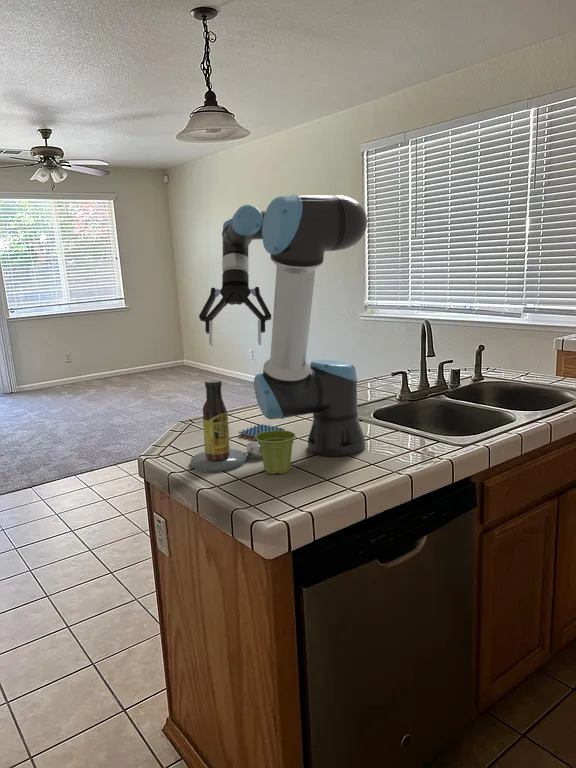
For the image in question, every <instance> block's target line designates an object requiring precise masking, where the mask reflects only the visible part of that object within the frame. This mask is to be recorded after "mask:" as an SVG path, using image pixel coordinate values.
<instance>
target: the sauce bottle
mask: <svg viewBox="0 0 576 768" xmlns="http://www.w3.org/2000/svg"><path fill="white" fill-rule="evenodd" d="M204 386H205V390H206V391H205V393H206V395H205V398H206V401H205V402H204V404H203V408H202V424H203V425H202V426H203V441H204V452H205V453H206V458H207V459H208V460H211V461H218V460H224V459H226V458H228V457H229V454H230V453H229V451H230V449H231V448H230V432H229V431H230V429H229V417H228V414H229V413H228V411H227V408H226V406H225V403H224V400H223V395H222V381H221V379H208V380H205V382H204Z"/></svg>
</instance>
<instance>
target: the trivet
mask: <svg viewBox="0 0 576 768" xmlns="http://www.w3.org/2000/svg"><path fill="white" fill-rule="evenodd" d="M229 453H230V454H229V457H228V458H226V459H224V460H218V461H211V460H208V459H207V458H206V453H205V451H202V452H199V453H197V454H195V455H194V456H192V457H191V459H190V467H191V466H192V467H193V468H195V469H197V470H201V471H200V472H202V471H206V472H205V473H220V471H222V472H227V471H232V470H235V469H237V468H240V467H241V466H242V467H243V465H245V464H246V462H247V453H245V452H244V451H242V450H240V449H233V448H230V451H229ZM192 467H191V468H192ZM193 468H192V469H193ZM195 469H194V470H195ZM197 470H196V471H197Z"/></svg>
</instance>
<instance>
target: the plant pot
mask: <svg viewBox="0 0 576 768" xmlns="http://www.w3.org/2000/svg"><path fill="white" fill-rule="evenodd" d="M295 438H296V433H295V432H293V431H291V430H290V431H289V430H285V429H284V430H273V431H266V432H262V433H259V434H258V435H256V440H255V441H258V444H259V446H260V450H261V454H262V459H261V460H262V464H263V468H264V471H265V473H267V474H270V475H276V474H285V473H287V472H289V471H290V470H291V461H292V451H293V444H294V441H295V440H294V439H295Z"/></svg>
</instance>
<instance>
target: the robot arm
mask: <svg viewBox="0 0 576 768" xmlns="http://www.w3.org/2000/svg"><path fill="white" fill-rule="evenodd" d="M367 225H368V219H367V214H366V211H365V209H364V207H363V206H362V205H361V204H360V203H359V201H356V199H353V198H351V197H349V196H346V195H339V194H332V195H329V194H327V195H326V194H323V195H320V194H319V195H317V194H312V195H307V194H305V195H304V194H300V195H299V194H291V195H283V196H282V195H281V196H276V197H275V198H273V200H271V202H270V203H269V204H268V205H267V207H266V210H259V209H258V207H256V206H253V205H251V204H245V205H242V206H240V207H238V209H237V210H236V211H235V213H234V214H233V216H232V218H229V219H228V220H225V221H224V222H223V224H222V232H221V236H222V237H221V238H222V257H221V258H222V266H221V267H222V274H221V275H222V276H221V278H222V279H221V280H222V283H221V285H222V286H221V289H219V288H218V289H217V288H216V287H211V288H210V295H209V296H208V298H207V300H206V302H205V304H204V306H203V308H202V309H201V311H200V313H199V315H198V318H199V320H200V321H201V322H204V323H205V329H204V330H205V333H206V334H208V344H209V346H213V347H214V322H213V320H214V319H215V318H216V317H217V315H219V313H220V312H221V311H222V310H223V309H224V308H225V307H226V306H227V305H228V304H229V305H231V306H232V305H243V304H244V305H245V306H246V307H247V308H248V309H249V310H250V311H251V312H252V313H253V314H254V315H255V317H257V319H258V320H257V343H258V345H261V346H262V333H265V332H266V322H267V321H270V320H272V330H271V342H270V343H271V344H270V345H271V346H270V357H269V358H268V359H267V360H266V361H265V362H264V364H263V371H262V373H260V372H259V373H258V374H256V375H255V376H254V378H253V388H254V395H255V399H256V402H257V405H258V407H259V410H260V412H261V414H262V415H263V417H265V418H266V419H268V420H278V419H281V420H283V419H285V418H286V419H287V418H291V417H298V416H305V415H310V414H312V422H311V423H312V424H311V428H310V431H309V434H308V438H307V447H308V448H307V449H308V451H309V452H311V453H312V454H315V455H318V456H323V457H344V456H351V455H354V454H358V453H360V452H362V451H364V450H365V449H366V437H365V435H364V432H363V429H362V426H361V423H360V421H359V417H358V386H357V385H358V384H357V383H358V379H357V378H358V377H357V369H356V367H355V366H354V365H353V364H352V363H350V362H345V361H340V360H331V359H330V360H329V359H315V360H312V361H311V362H310V364H308V363H307V359H306V358H307V351H308V341H309V332H310V322H311V313H312V304H313V303H312V302H313V296H314V295H313V294H314V286H315V275H316V269H318V268H319V267H321V266H322V265H323V263H324V257H325V252H334V251H336V252H337V251H342V250H346V249H349V248H351V247H354V246H355V245H357V244H358V243H359V242H360V241H361V239H362V237H364V236H365V233H366V230H367ZM253 240H262V245H263V248H264V250H265V252H266V253H268V254H270V260H271V261H272V262H273V263H274V264H275V265H276V270H275V271H276V272H275V285H274V286H275V287H274V288H275V289H274V298H273V299H274V301H273V314H271V312H270V310H269V309H268V307H267V305H266V303H265V301H264V299H263V297H262V295H261V293H260V287H259V286H255V287H254V288H250V287H249V285H250V284H249V276H250V275H249V272H250V270H249V263H250V262H249V248H250V247H249V246H250V244H251V242H252V241H253ZM251 294H252V296H253V297H256V301H257V302H258V304H259V306H260V307H261V310H262V312H263V313H262V312H261V311H260V310H259V309H258V308H257V307H256V305H254V303H252V301H251V299H250V298H249V296H250V295H251ZM219 295H221V297H222V298H221V299H220V300H219V302H218V303H217V304H216V305H215V306H214V307H213V309H212V310H211V308H212V306H213V305H214V302H215V301H216V298H217V297H219ZM210 310H211V311H210ZM272 315H273V318H272Z"/></svg>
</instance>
